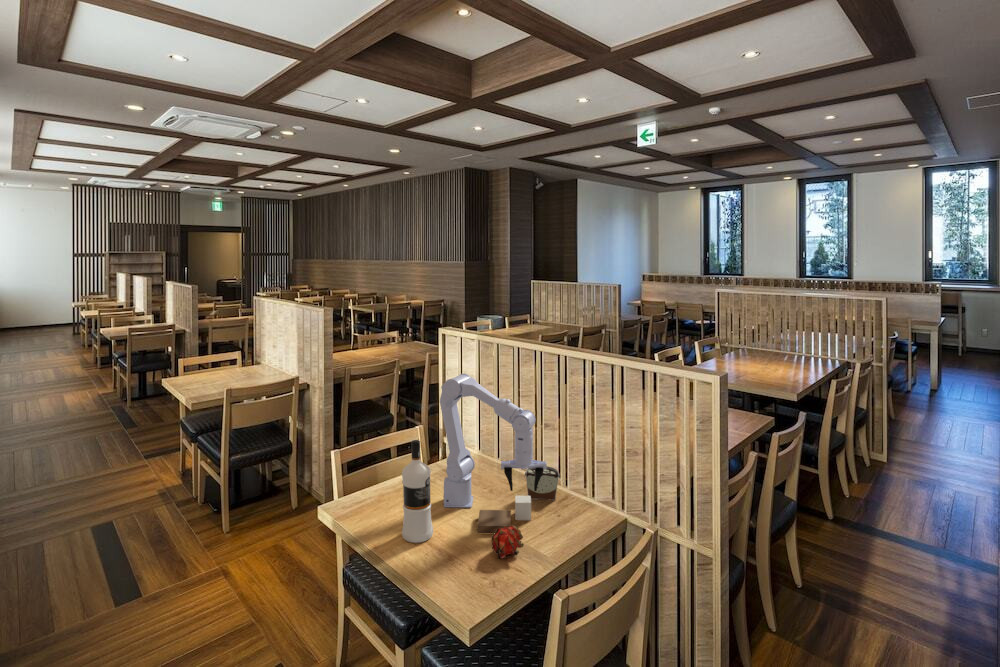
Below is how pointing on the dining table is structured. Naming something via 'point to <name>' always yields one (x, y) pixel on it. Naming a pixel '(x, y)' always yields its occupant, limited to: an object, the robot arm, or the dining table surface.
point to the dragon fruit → (507, 541)
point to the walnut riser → (493, 520)
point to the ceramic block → (522, 507)
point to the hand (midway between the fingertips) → (523, 489)
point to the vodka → (416, 499)
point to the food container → (543, 484)
